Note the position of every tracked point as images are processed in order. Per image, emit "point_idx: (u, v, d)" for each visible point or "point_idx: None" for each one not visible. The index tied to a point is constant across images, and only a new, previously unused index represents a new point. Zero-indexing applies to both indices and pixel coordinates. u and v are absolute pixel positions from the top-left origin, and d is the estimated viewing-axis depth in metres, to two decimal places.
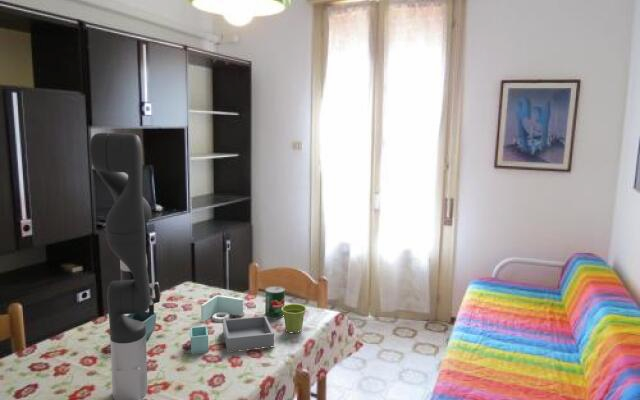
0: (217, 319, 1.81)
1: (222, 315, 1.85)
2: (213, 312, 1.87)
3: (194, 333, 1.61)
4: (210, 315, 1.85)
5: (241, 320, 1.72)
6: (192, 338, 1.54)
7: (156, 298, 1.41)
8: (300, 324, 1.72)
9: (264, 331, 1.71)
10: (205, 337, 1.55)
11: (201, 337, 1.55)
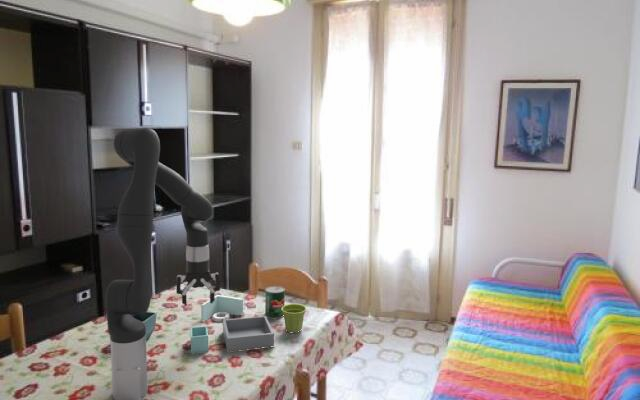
0: (217, 319, 1.81)
1: (222, 315, 1.86)
2: (213, 312, 1.87)
3: (194, 332, 1.61)
4: (210, 315, 1.85)
5: (241, 320, 1.72)
6: (192, 338, 1.54)
7: (217, 287, 1.57)
8: (300, 324, 1.72)
9: (264, 331, 1.71)
10: (205, 337, 1.55)
11: (201, 337, 1.55)
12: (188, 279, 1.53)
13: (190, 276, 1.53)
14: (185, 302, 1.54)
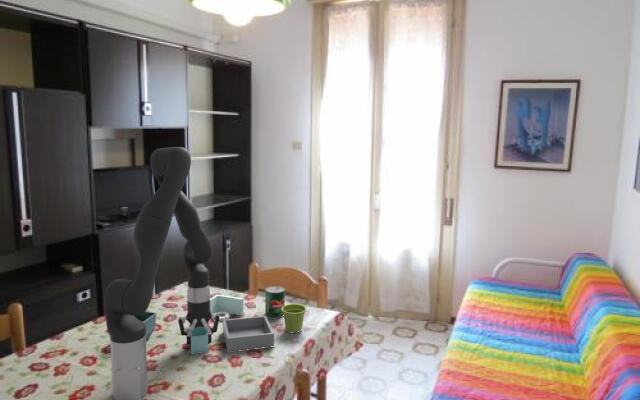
0: None
1: (222, 314, 1.86)
2: (213, 311, 1.87)
3: (194, 332, 1.61)
4: None
5: (241, 320, 1.72)
6: (192, 338, 1.54)
7: (214, 328, 1.58)
8: (300, 324, 1.72)
9: (264, 331, 1.71)
10: (205, 337, 1.55)
11: (201, 337, 1.55)
12: (189, 319, 1.56)
13: (190, 316, 1.55)
14: (190, 343, 1.57)
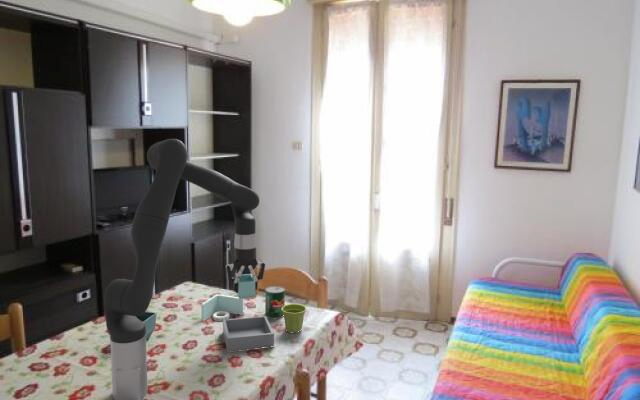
0: (217, 318, 1.82)
1: (222, 314, 1.86)
2: (213, 311, 1.88)
3: (240, 280, 1.66)
4: (210, 314, 1.86)
5: (241, 320, 1.72)
6: (240, 283, 1.58)
7: (260, 275, 1.63)
8: (300, 324, 1.72)
9: (264, 331, 1.71)
10: (252, 283, 1.60)
11: (248, 282, 1.59)
12: (237, 266, 1.60)
13: (238, 263, 1.60)
14: (237, 290, 1.61)
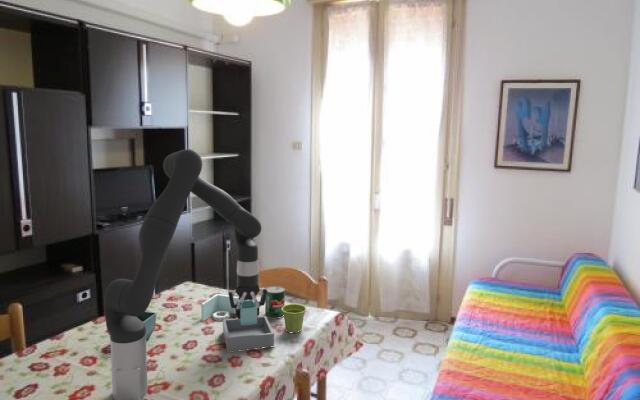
0: (217, 318, 1.82)
1: (222, 314, 1.87)
2: (213, 311, 1.88)
3: (242, 306, 1.67)
4: (210, 314, 1.86)
5: None
6: (242, 310, 1.60)
7: (262, 301, 1.64)
8: (300, 324, 1.72)
9: (264, 331, 1.71)
10: (254, 309, 1.61)
11: (250, 309, 1.61)
12: (239, 292, 1.61)
13: (240, 289, 1.61)
14: (239, 316, 1.63)
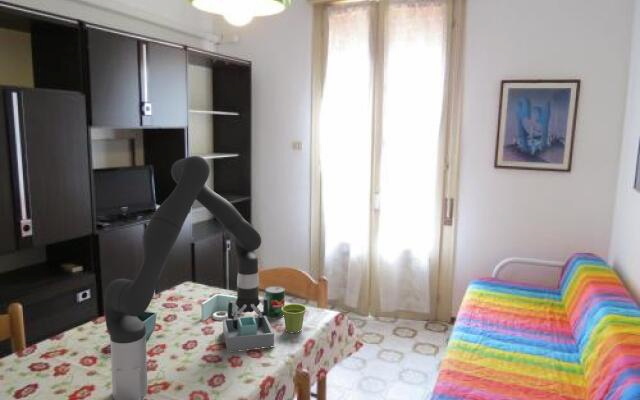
0: (217, 317, 1.82)
1: (222, 313, 1.87)
2: (213, 311, 1.88)
3: (242, 322, 1.68)
4: (210, 314, 1.86)
5: None
6: (242, 327, 1.61)
7: (265, 312, 1.65)
8: (300, 324, 1.72)
9: (264, 331, 1.71)
10: (254, 326, 1.62)
11: (250, 326, 1.61)
12: (239, 304, 1.62)
13: (241, 302, 1.62)
14: (236, 326, 1.63)
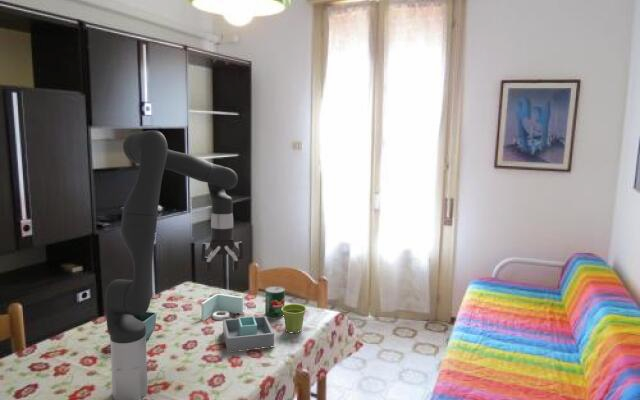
0: (217, 317, 1.83)
1: (222, 313, 1.87)
2: (213, 310, 1.88)
3: (242, 322, 1.68)
4: (210, 313, 1.86)
5: None
6: (242, 327, 1.61)
7: (240, 255, 1.61)
8: (300, 324, 1.72)
9: (264, 331, 1.71)
10: (254, 326, 1.62)
11: (250, 326, 1.61)
12: (213, 246, 1.58)
13: (214, 243, 1.58)
14: (209, 269, 1.59)
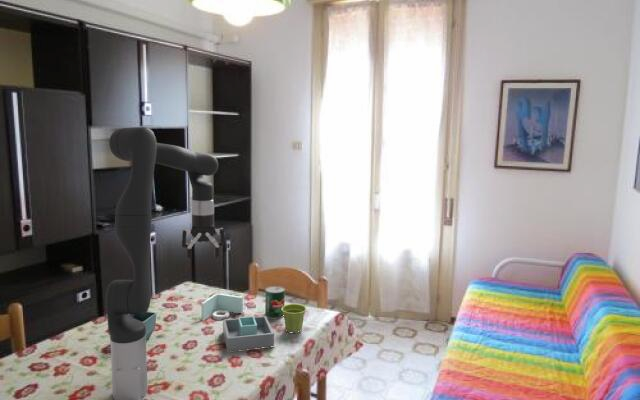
0: (217, 317, 1.83)
1: (222, 313, 1.88)
2: (213, 310, 1.89)
3: (242, 322, 1.68)
4: (210, 313, 1.87)
5: None
6: (242, 327, 1.61)
7: (221, 241, 1.61)
8: (300, 324, 1.72)
9: (264, 331, 1.71)
10: (254, 326, 1.62)
11: (250, 326, 1.61)
12: (193, 233, 1.58)
13: (195, 230, 1.58)
14: (190, 256, 1.58)
